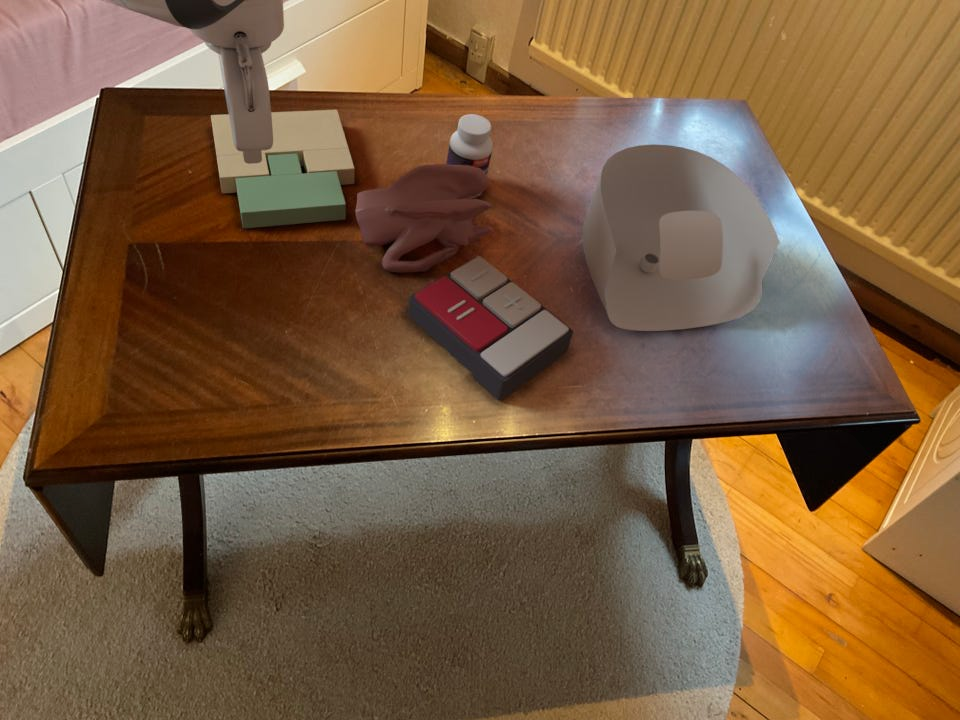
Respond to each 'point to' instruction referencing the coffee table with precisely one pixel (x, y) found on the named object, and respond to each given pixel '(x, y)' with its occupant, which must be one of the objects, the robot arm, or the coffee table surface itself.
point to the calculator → (490, 326)
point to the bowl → (675, 240)
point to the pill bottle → (471, 143)
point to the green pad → (289, 195)
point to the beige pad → (287, 146)
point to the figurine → (424, 214)
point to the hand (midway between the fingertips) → (247, 130)
